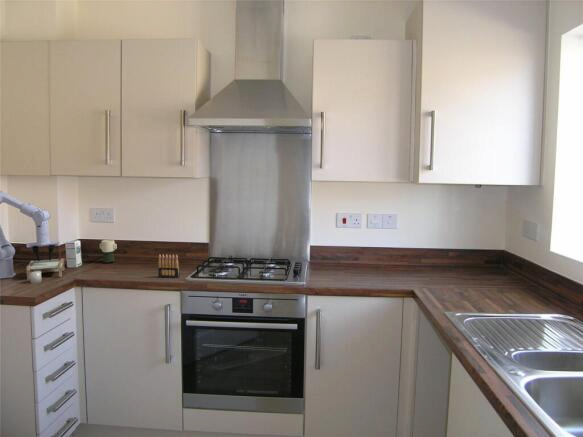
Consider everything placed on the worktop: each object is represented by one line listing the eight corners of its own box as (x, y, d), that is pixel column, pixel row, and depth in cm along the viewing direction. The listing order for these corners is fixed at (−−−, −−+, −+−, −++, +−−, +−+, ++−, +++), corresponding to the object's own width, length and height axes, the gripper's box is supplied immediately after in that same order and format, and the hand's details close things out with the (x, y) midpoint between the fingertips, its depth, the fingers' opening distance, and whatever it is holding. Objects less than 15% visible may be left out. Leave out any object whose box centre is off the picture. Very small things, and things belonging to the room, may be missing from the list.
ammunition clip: (158, 277, 220) (157, 254, 218) (159, 276, 221) (158, 253, 220) (178, 278, 218) (177, 254, 217) (179, 277, 220) (179, 253, 219)
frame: (27, 280, 215) (26, 267, 214) (32, 272, 229) (31, 260, 228) (61, 276, 220) (60, 264, 220) (64, 270, 235) (63, 258, 234)
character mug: (120, 261, 256) (119, 239, 255) (113, 264, 249) (112, 241, 248) (104, 260, 258) (103, 239, 257) (96, 263, 251) (95, 241, 250)
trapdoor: (34, 264, 227) (34, 260, 227) (60, 262, 232) (60, 258, 232) (30, 269, 215) (30, 265, 215) (57, 267, 220) (57, 263, 220)
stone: (29, 283, 208) (28, 273, 207) (31, 281, 212) (30, 271, 211) (40, 282, 210) (40, 272, 209) (42, 280, 214) (41, 270, 213)
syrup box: (77, 267, 241) (75, 241, 239) (66, 267, 241) (65, 241, 240) (82, 265, 247) (80, 240, 245) (72, 265, 247) (70, 240, 245)
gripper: (24, 236, 212) (26, 263, 214) (58, 234, 218) (59, 260, 219) (27, 234, 218) (29, 260, 220) (59, 232, 224) (61, 257, 226)
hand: (44, 260), depth 220 cm, fingers open, 4 cm apart
